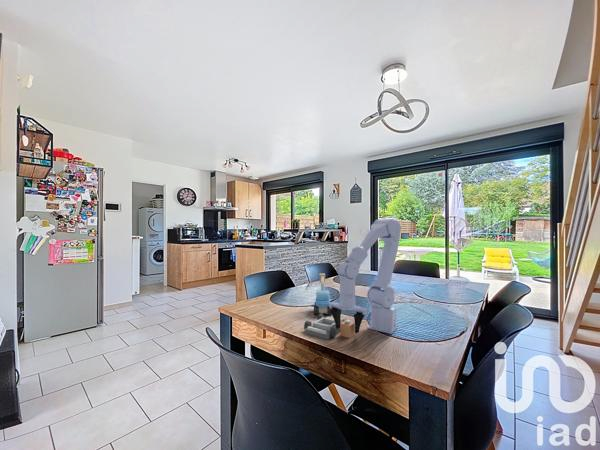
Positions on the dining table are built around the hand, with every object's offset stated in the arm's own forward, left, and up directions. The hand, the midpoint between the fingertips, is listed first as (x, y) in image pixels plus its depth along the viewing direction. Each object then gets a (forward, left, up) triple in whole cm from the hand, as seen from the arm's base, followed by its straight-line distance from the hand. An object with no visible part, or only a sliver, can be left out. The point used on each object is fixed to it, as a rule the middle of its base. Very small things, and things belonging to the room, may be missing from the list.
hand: (347, 330), depth 97 cm
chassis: (+9, 0, -2) cm, 9 cm away
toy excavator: (+22, -20, -2) cm, 30 cm away
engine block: (0, 0, -2) cm, 2 cm away
